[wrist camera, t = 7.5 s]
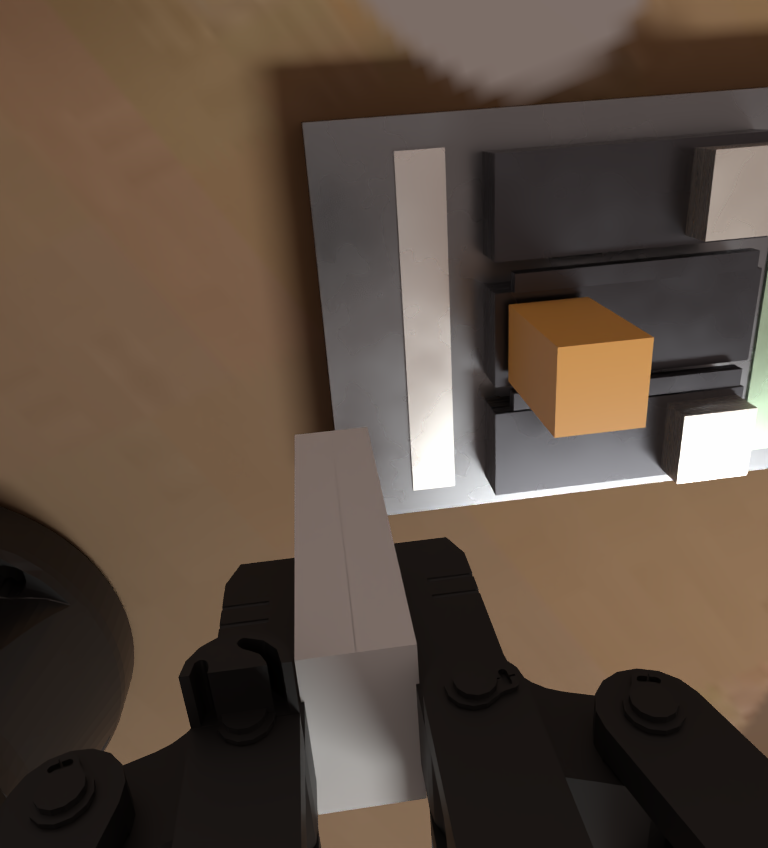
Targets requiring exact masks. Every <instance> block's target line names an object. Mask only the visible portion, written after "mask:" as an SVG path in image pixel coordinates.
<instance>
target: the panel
mask: <svg viewBox="0 0 768 848" xmlns="http://www.w3.org/2000/svg"><path fill="white" fill-rule="evenodd" d="M301 124H302V133H303V142H304V152H305V161H306V170H307V180H308V189H309V199H310V208H311V217H312V227H313V236H314V245H315V255H316V264H317V273H318V283H319V292H320V302H321V311H322V320H323V330H324V339H325V348H326V358H327V367H328V376H329V386H330V395H331V404H332V414H333V423H334V431H335V430H344V429H353V428H362V427H367V429H368V433H369V437H370V442H371V446H372V450H373V455H374V459H375V463H376V468H377V472H378V477H379V481H380V485H381V490H382V494H383V498H384V503H385V507H386V512H387V515H394V514H402V513H411V512H419V511H427V510H435V509H443V508H451V507H459V506H467V505H476V504H484V503H492V502H500V501H508V500H516V499H524V498H532V497H540V496H549V495H557V494H565V493H573V492H581V491H589V490H597V489H605V488H614V487H622V486H630V485H638V484H646V483H654V482H662V481H670V480H673V481H674V482H675V483H676V484H680V483H688V482H696V481H704V480H712V479H720V478H728V477H737V476H745V475H747V471H752V470H760V469H768V87H759V88H745V89H732V90H719V91H706V92H692V93H679V94H666V95H653V96H640V97H626V98H613V99H600V100H587V101H573V102H560V103H547V104H534V105H520V106H507V107H494V108H481V109H468V110H454V111H441V112H428V113H415V114H401V115H388V116H375V117H362V118H348V119H335V120H322V121H309V122H301ZM580 297H589V298H591V299H593V300H594V301H596V302H597V303H599V304H601V305H602V306H604V307H606V308H607V309H609V310H610V311H612V312H614V313H615V314H617V315H618V316H620V317H622V318H623V319H625V320H627V321H628V322H630V323H631V324H633V325H635V326H636V327H638V328H640V329H641V330H643V331H644V332H646V333H648V334H649V335H651V336H653V337H654V343H653V353H652V364H651V375H650V385H649V396H648V407H647V417H646V427H645V428H636V429H627V430H619V431H610V432H602V433H593V434H584V435H576V436H567V437H559V438H554V437H553V435H552V434H551V433H550V432H549V431H548V429H547V428H546V427H545V426H544V424H543V423H542V422H541V421H540V419H539V418H538V417H537V416H536V415H535V413H534V412H533V411H532V410H531V408H530V407H529V406H528V405H527V404H526V402H525V401H524V400H523V399H522V397H521V396H520V395H519V394H518V392H517V391H516V390H515V389H514V388H513V386H512V385H511V384H510V383H509V381H508V352H509V305H510V304H520V303H530V302H540V301H550V300H560V299H570V298H580Z"/></svg>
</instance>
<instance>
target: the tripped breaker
mask: <svg viewBox="0 0 768 848" xmlns="http://www.w3.org/2000/svg"><path fill="white" fill-rule="evenodd" d="M653 343H654V337H653V336H651V335H649V334H648V333H646V332H644V331H643V330H641V329H640V328H638V327H636V326H635V325H633V324H631V323H630V322H628V321H627V320H625V319H623V318H622V317H620V316H618V315H617V314H615V313H614V312H612V311H610V310H609V309H607V308H606V307H604V306H602V305H601V304H599V303H597V302H596V301H594V300H593V299H591V298H589V297H580V298H570V299H560V300H550V301H540V302H530V303H520V304H510V305H509V352H508V381H509V383H510V384H511V385H512V386H513V388H514V389H515V390H516V391H517V392H518V394H519V395H520V396H521V397H522V399H523V400H524V401H525V402H526V404H527V405H528V406H529V407H530V408H531V410H532V411H533V412H534V413H535V415H536V416H537V417H538V418H539V419H540V421H541V422H542V423H543V424H544V426H545V427H546V428H547V429H548V431H549V432H550V433H551V434H552V435H553V437H554V438H559V437H567V436H576V435H584V434H593V433H602V432H610V431H619V430H627V429H636V428H645V427H646V417H647V407H648V396H649V385H650V375H651V364H652V353H653Z"/></svg>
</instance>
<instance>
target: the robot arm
mask: <svg viewBox="0 0 768 848" xmlns="http://www.w3.org/2000/svg"><path fill="white" fill-rule="evenodd" d="M222 607H223V611H222V613H221V619H220V629H219V633H218V638H216V639H214V640H213V641H211V642H209V643H207V644H205V645H203V646H202V647H200V648H199V649H198V650H197V651H196V652H195V653H194V654H193V655H192V656H191V657H190V658H189V659H188V660H187V661H186V662H185V664H184V666H183V668H182V671H181V673H180V675H179V681H180V685H181V689H182V693H183V698H184V702H185V706H186V710H187V714H188V718H189V722H190V726H191V729H190V730H189V731H188V732H187V733H186V734H185V735H183V736H182V737H181V738H179V739H178V740H177V741H175V742H174V743H173V744H171V745H169V746H167V747H165V748H163V749H161V750H159V751H157V752H155V753H152V754H150V755H148V756H145V757H143V758H140V759H138V760H135V761H133V762H130V763H128V764H126V765H123V766H122V764H121V763H120V762H119V761H118V760H117V759H116V758H115V757H114V756H113V755H112V754H111V753H108V752H104V750H105V749H106V747H107V746H108V744H109V742H110V740H111V738H112V736H113V734H114V732H115V730H116V728H117V725H118V723H119V720H120V717H121V713H122V710H123V706H124V703H125V699H126V696H127V692H128V689H129V685H130V682H131V678H132V673H133V665H134V645H133V637H132V632H131V628H130V624H129V621H128V618H127V615H126V613H125V611H124V608H123V606H122V604H121V602H120V600H119V598H118V596H117V595H116V593H115V591H114V590H113V588H112V587H111V585H110V584H109V582H108V581H107V580H106V579H105V577H104V576H103V575H102V573H101V572H100V571H99V570H98V569H97V568H96V567H95V566H94V564H93V563H91V562H90V561H89V560H88V559H87V558H86V557H85V556H84V555H83V554H82V553H81V552H80V551H78V550H77V549H76V548H75V547H74V546H72V545H71V544H70V543H68V542H67V541H66V540H64V539H63V538H62V537H60V536H59V535H57V534H55V533H54V532H52V531H51V530H49V529H48V528H46V527H44V526H42V525H40V524H39V523H37V522H35V521H33V520H31V519H29V518H27V517H25V516H22V515H20V514H18V513H15V512H13V511H10V510H8V509H5V508H2V507H0V848H321V844H320V838H319V831H318V815H319V814H326V813H332V812H339V811H346V810H352V809H359V808H365V807H372V806H379V805H385V804H392V803H398V802H405V801H412V800H418V799H425V798H426V792H427V797H428V802H429V807H430V820H431V836H432V848H768V758H767V757H766V756H765V755H763V754H762V753H761V752H760V751H759V750H758V749H757V748H756V747H755V746H754V745H753V744H752V743H751V742H750V741H749V740H748V739H747V738H745V737H744V736H743V735H742V734H741V733H740V732H739V731H738V730H737V729H736V728H735V727H734V726H733V725H732V724H731V723H730V722H729V721H728V720H727V719H726V718H725V717H724V716H722V715H721V714H720V713H719V712H718V711H717V710H716V709H715V708H714V707H713V706H712V705H711V704H710V703H709V702H708V701H707V700H706V699H705V698H704V697H702V696H701V695H700V694H699V693H698V692H697V691H696V690H694V689H693V688H691V687H690V686H689V685H687V684H686V683H684V682H683V681H682V680H680V679H678V678H675V677H673V676H670V675H667V674H665V673H662V672H659V671H653V670H644V669H632V670H626V671H620V672H617V673H615V674H613V675H612V676H610V677H608V678H607V679H605V680H603V682H602V683H601V685H600V687H599V688H598V690H597V692H596V694H595V696H593V695H585V694H577V693H569V692H562V691H557V690H552V689H547V688H544V687H542V686H539V685H537V684H534V683H532V682H530V681H529V680H527V679H526V678H524V677H523V675H522V674H521V673H520V671H519V670H518V668H517V667H516V666H514V665H513V664H511V663H510V662H508V661H507V660H506V658H505V656H504V654H503V652H502V649H501V647H500V644H499V641H498V639H497V636H496V634H495V631H494V628H493V626H492V623H491V621H490V618H489V615H488V613H487V610H486V608H485V605H484V602H483V600H482V597H481V595H480V593H479V591H478V587H477V584H476V582H475V579H474V576H472V571H471V569H470V566H469V563H468V561H467V558H466V556H465V553H464V552H463V551H462V550H460V549H459V548H458V547H457V546H456V545H455V544H453V543H452V542H451V541H450V540H449V539H447V538H446V537H444V538H436V539H428V540H420V541H411V542H403V543H395V544H394V542H393V538H392V533H391V529H390V525H389V520H388V516H387V512H386V507H385V503H384V498H383V494H382V490H381V485H380V481H379V477H378V472H377V468H376V463H375V459H374V455H373V450H372V446H371V442H370V437H369V433H368V429H367V427H362V428H353V429H344V430H335V431H325V432H316V433H307V434H298V435H295V558H290V559H282V560H274V561H266V562H257V563H249V564H241V565H240V566H239V568H238V569H237V570H236V572H235V573H234V574H233V576H232V577H231V578H230V580H229V581H228V582H227V584H226V586H225V592H224V599H223V606H222ZM317 809H318V811H317Z"/></svg>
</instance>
